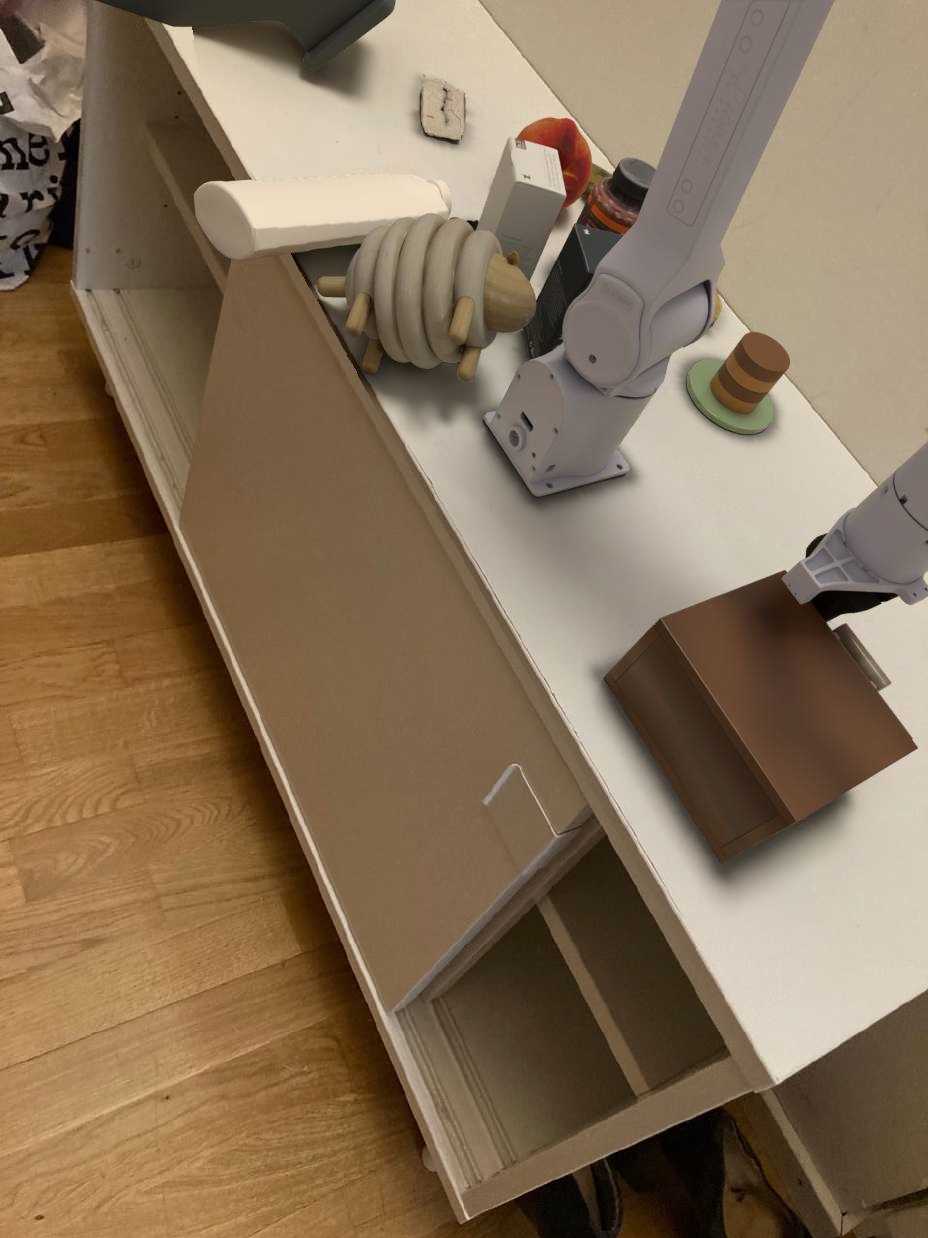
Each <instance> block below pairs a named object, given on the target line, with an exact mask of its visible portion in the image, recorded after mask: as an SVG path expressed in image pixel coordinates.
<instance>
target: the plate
mask: <svg viewBox="0 0 928 1238" xmlns="http://www.w3.org/2000/svg"><path fill="white" fill-rule="evenodd" d="M725 360H726V359H725ZM725 360H724V359H720V358H704V359H701V360H698V361H697V362H695V364H693V365H692V366H691V368H690V369H689V371H688V373H687V375H686V389H687V392H688V395H689V397H690V398H691V400H692V402H693V403H694V405H695V406H696V408H698V410H699V411H700V412H701V413H702V414H703V415H704V416H705V417H707V418H708V419H709V420H710V421H711V422H713V423H715V424H716V425H718V426H719V427H721V428H723V429H726V430H728V431H729V432H733V433H737V434H741V435H754V434H758V433H762V432H763V431H765V430H766V429H767V428H768V427H769V425H770V424H771V423H772V421H773V419H774V415H775V407H774V406H775V405H774V403H773V400H772V397H771V395H770V394H769V393H768V394H767V395H766V396H765V397H764V399H763V400H762V401H761V402H760V403H759V405H758V406H757V407H756V408H755V410H753V411H752V412H750V413H738V412H735V411H732V410H730V409H728V408H727V407H725V406H724V405H723V404H721V403H720V402H719V401H718V400H717V399H716V397H715V396H714V394H713V393H712V390H711V386H710V382H711V379H712V378H713V376H714V375H715V374H716V372H717V371H718V370H719V368H720V367H721V366H722V364H723V363H724V362H725Z"/></svg>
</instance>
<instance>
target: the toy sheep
mask: <svg viewBox="0 0 928 1238" xmlns="http://www.w3.org/2000/svg"><path fill="white" fill-rule="evenodd" d="M459 218H460V217H457V218H454V219H450V218H449V219H450V220H449V219H448V221H447V220H446V219H444V218H443V217H442V216H440V215H439V214H435V213H427V214H425V215H422V216H421V217H419V218H418V219H415V218H411V217H404V218H400V219H398V220H396V221H395V222H394V223H393V224H392V225H391V226H378V227H376V228H374V229H373V230H371V231H370V232H369V233H368V234H367V236H366V237H365V238H364V240H363V242H362V244H360V247H359V248H358V249H357V251H355V253H354V255H353V257H352V258H351V260H350V262H349V265H348V268H347V270H346V274H345V276H327V275H326V276H321V277H320V278H319V279H318V280H317V284H316V285H317V287H316V289H317V292H318V294H319V295H320V296H321V297H323V298H332V299H333V298H334V299H335V298H338V299H339V298H340V299H341V298H342V299H346V305H347V307H348V310H349V315H348V317H347V320H346V322H345V325H344V331H345V333H347V335H348V336H350V337H352V338H358V337H360V336H361V335H362V334H363V332H364V333H365V334H366V336H367V337H369V341H368V345H367V347H366V350H365V353H364V356H363V358H362V361H361V368H362V370H363V371H364V372H366V373H368V374H375V373H376V372H377V371H378V370H379V367H380V364H381V361H382V357H383V355H384V353H386V355H388V357H389V358H391V359H392V360H393V361H396V362H397V363H403V364H405V363H412V364H413V365H414V366H416V367H418V368H419V369H423V370H429V369H432V368H436V367H438V366H439V365H440V364H441V363H442V362H445V363H448V364H457V363H458V367H457V371H456V377H457V378H458V380H459V381H460V382H462V383H470V382H472V381H473V379H474V378H475V375H476V370H477V367H478V364H479V361H480V356H481V353H482V351H483V350H484V349H487V348H489V347H490V346H491V344H493V342H494V341H495V339H496V338H497V334H498V333H499V334H500V333H501V334H507V333H509V334H510V333H515V332H518V331H520V330H523V328H524V327H525V326H526V325H527V324H529V323H530V321H531V320H532V318H533V317H534V315H535V312H536V300H537V297H536V294H535V291H534V290H535V289H534V288H533V285H532V284H531V281H530V282H529V280H528V279H527V277H526V276H525V275H524V274H523V272H522V271H521V270H520V269H519V268H518V267H517V266H516V265H517V264H518V261H519V255H518V253H516V252H515V251H511V252H510V253H508V254H507V257H506V258H505V257H503V253H502V248H501V246H500V243H499V241H498V239H497V238H496V236H495V235H494V234H493V233H491V232H490V231H488V230H477V231H474V229H473V228H472V227H471V225H470V224H469V223H468V222H466V221H467V220H465V219H462V218H460V219H459Z"/></svg>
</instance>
